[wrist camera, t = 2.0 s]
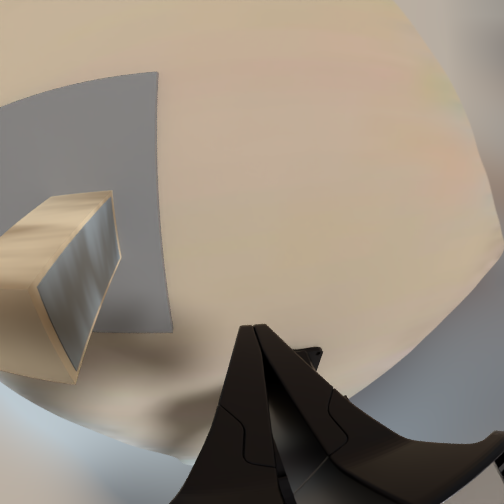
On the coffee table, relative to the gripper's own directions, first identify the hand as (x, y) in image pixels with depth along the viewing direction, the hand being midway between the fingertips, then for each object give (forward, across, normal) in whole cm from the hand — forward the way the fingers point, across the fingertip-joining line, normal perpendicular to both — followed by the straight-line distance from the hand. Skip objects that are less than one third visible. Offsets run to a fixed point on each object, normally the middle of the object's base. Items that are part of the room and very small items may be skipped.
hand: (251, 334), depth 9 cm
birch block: (+9, +9, 0) cm, 13 cm away
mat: (+10, +14, 0) cm, 17 cm away
